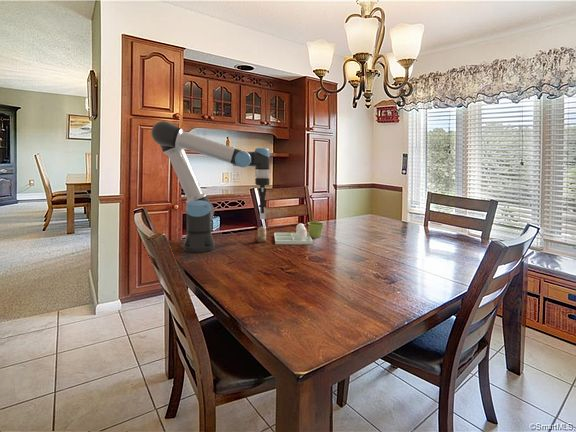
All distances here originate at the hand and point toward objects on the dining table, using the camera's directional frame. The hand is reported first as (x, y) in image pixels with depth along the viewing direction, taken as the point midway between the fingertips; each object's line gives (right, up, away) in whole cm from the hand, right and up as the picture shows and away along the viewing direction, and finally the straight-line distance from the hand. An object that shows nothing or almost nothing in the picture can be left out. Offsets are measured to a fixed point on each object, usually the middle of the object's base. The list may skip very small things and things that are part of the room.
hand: (262, 216), depth 186 cm
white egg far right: (+21, -14, 0) cm, 25 cm away
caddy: (+16, -13, +5) cm, 22 cm away
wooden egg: (-1, -14, +2) cm, 14 cm away
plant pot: (+30, -12, +13) cm, 35 cm away
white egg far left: (+21, -12, +9) cm, 26 cm away
